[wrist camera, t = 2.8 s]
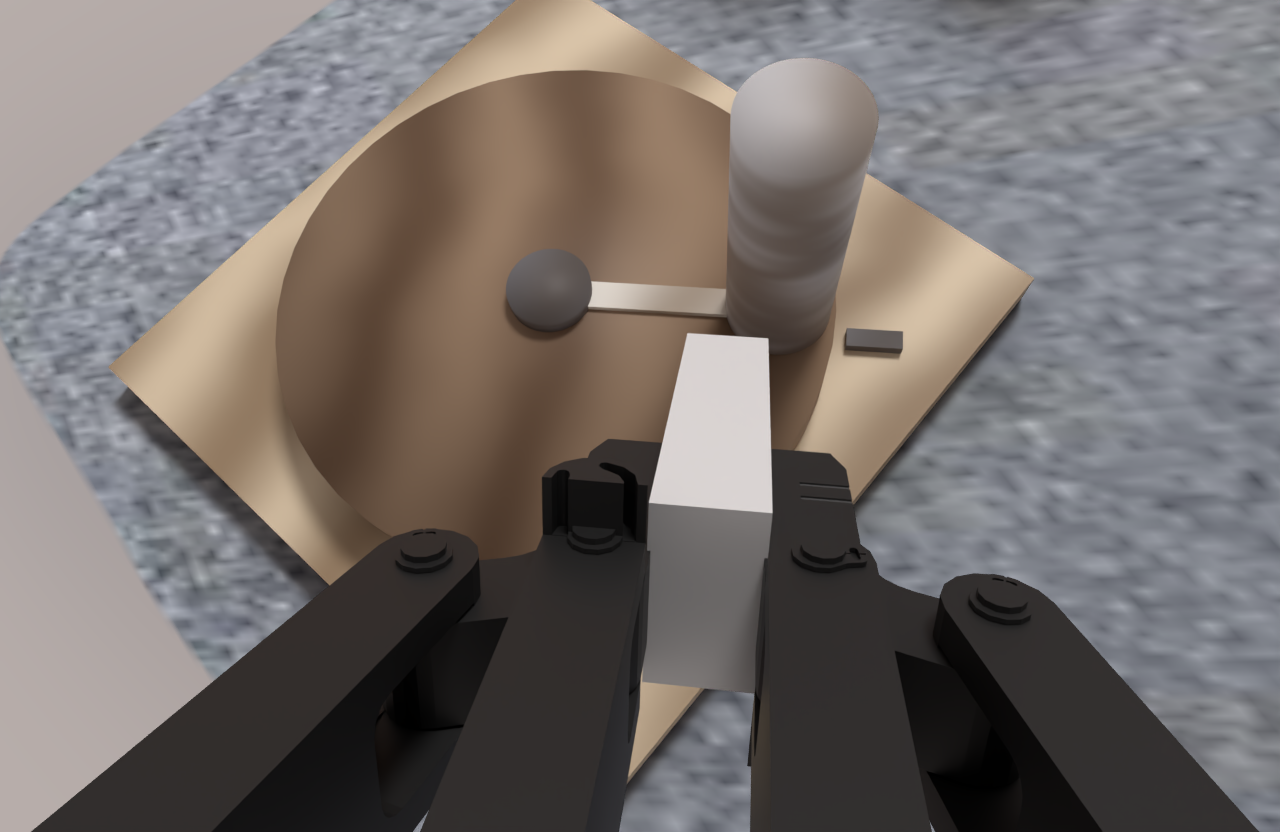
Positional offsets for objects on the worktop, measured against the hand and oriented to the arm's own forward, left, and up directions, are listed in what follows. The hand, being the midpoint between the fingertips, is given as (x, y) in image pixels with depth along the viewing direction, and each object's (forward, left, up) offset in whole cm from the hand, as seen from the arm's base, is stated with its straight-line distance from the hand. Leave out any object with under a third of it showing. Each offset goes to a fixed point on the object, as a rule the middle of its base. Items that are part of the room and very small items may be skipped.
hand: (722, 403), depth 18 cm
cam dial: (+10, -3, -14) cm, 18 cm away
